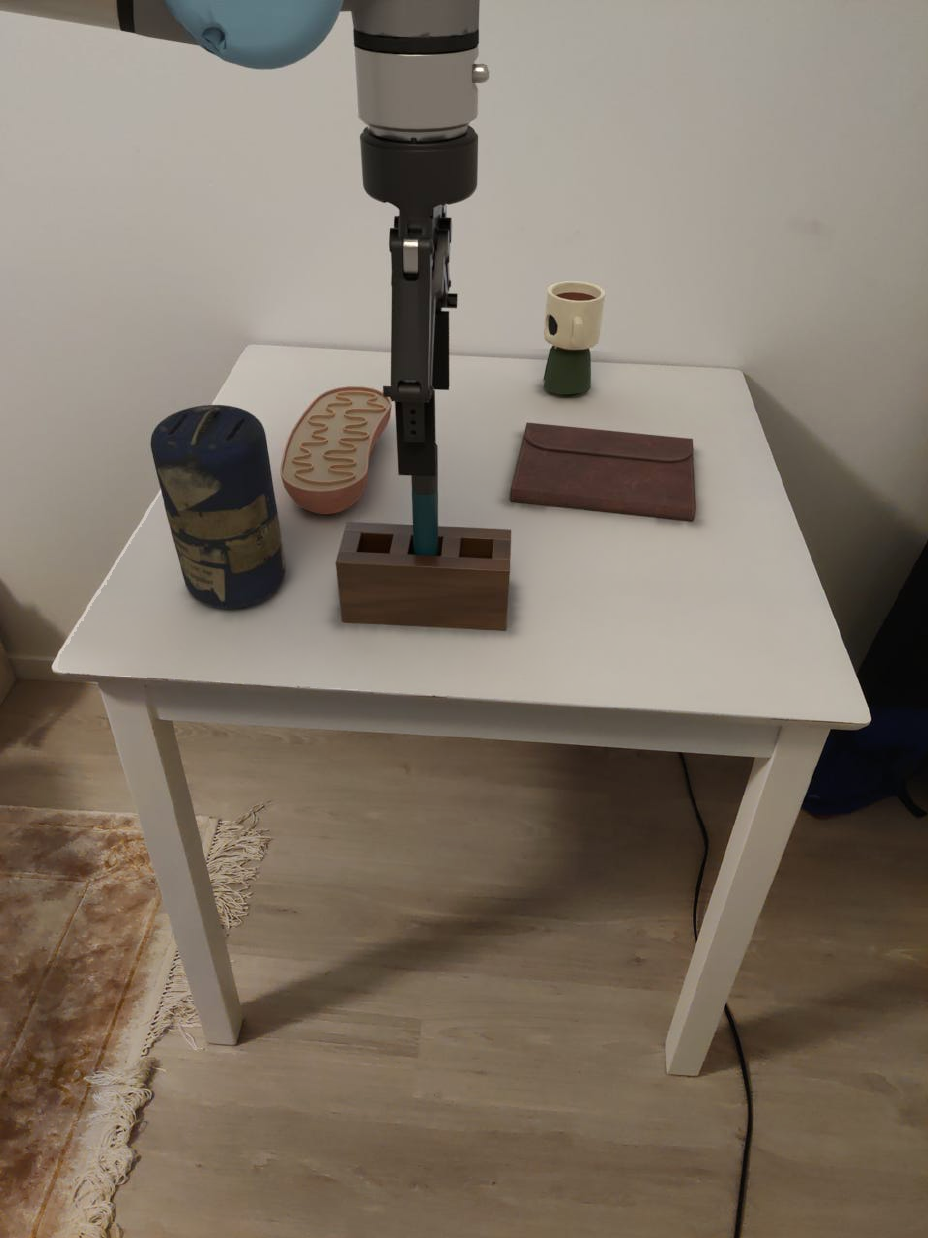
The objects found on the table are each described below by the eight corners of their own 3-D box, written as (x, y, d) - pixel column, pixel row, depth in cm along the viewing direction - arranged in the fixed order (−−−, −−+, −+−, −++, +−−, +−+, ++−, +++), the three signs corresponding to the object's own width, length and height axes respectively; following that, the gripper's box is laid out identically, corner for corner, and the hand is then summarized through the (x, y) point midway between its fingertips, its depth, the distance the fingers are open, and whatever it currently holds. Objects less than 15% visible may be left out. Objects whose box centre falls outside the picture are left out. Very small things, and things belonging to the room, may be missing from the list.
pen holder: (506, 630, 78) (510, 570, 73) (341, 622, 78) (335, 562, 74) (507, 588, 82) (511, 529, 78) (352, 580, 83) (346, 521, 78)
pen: (423, 615, 79) (419, 455, 68) (410, 602, 81) (405, 443, 69) (442, 607, 80) (442, 448, 69) (430, 594, 81) (428, 436, 70)
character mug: (537, 369, 118) (544, 274, 109) (588, 370, 118) (600, 275, 109) (542, 408, 109) (550, 307, 101) (597, 408, 109) (610, 308, 101)
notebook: (693, 523, 91) (696, 507, 90) (509, 502, 93) (510, 487, 92) (689, 451, 102) (693, 436, 101) (525, 434, 104) (526, 419, 103)
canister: (166, 600, 80) (117, 429, 68) (223, 545, 87) (188, 379, 75) (253, 627, 78) (218, 454, 66) (306, 568, 84) (283, 400, 72)
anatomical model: (362, 534, 88) (358, 493, 85) (268, 527, 89) (261, 486, 86) (399, 425, 105) (397, 388, 102) (320, 420, 106) (316, 382, 103)
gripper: (467, 183, 44) (463, 519, 58) (486, 86, 63) (480, 359, 77) (323, 179, 45) (354, 515, 59) (385, 84, 63) (397, 356, 77)
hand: (425, 427), depth 68 cm, fingers open, 13 cm apart
